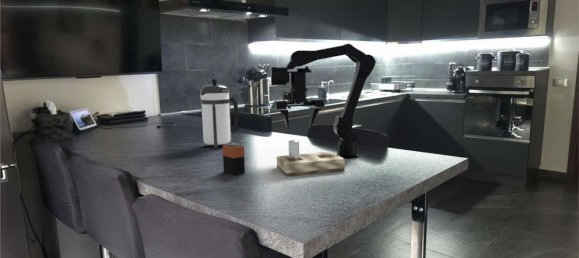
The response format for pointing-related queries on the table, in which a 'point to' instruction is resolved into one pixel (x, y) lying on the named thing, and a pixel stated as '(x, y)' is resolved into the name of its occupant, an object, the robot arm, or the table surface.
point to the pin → (293, 150)
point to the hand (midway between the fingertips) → (299, 126)
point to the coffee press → (217, 114)
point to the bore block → (311, 164)
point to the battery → (233, 158)
